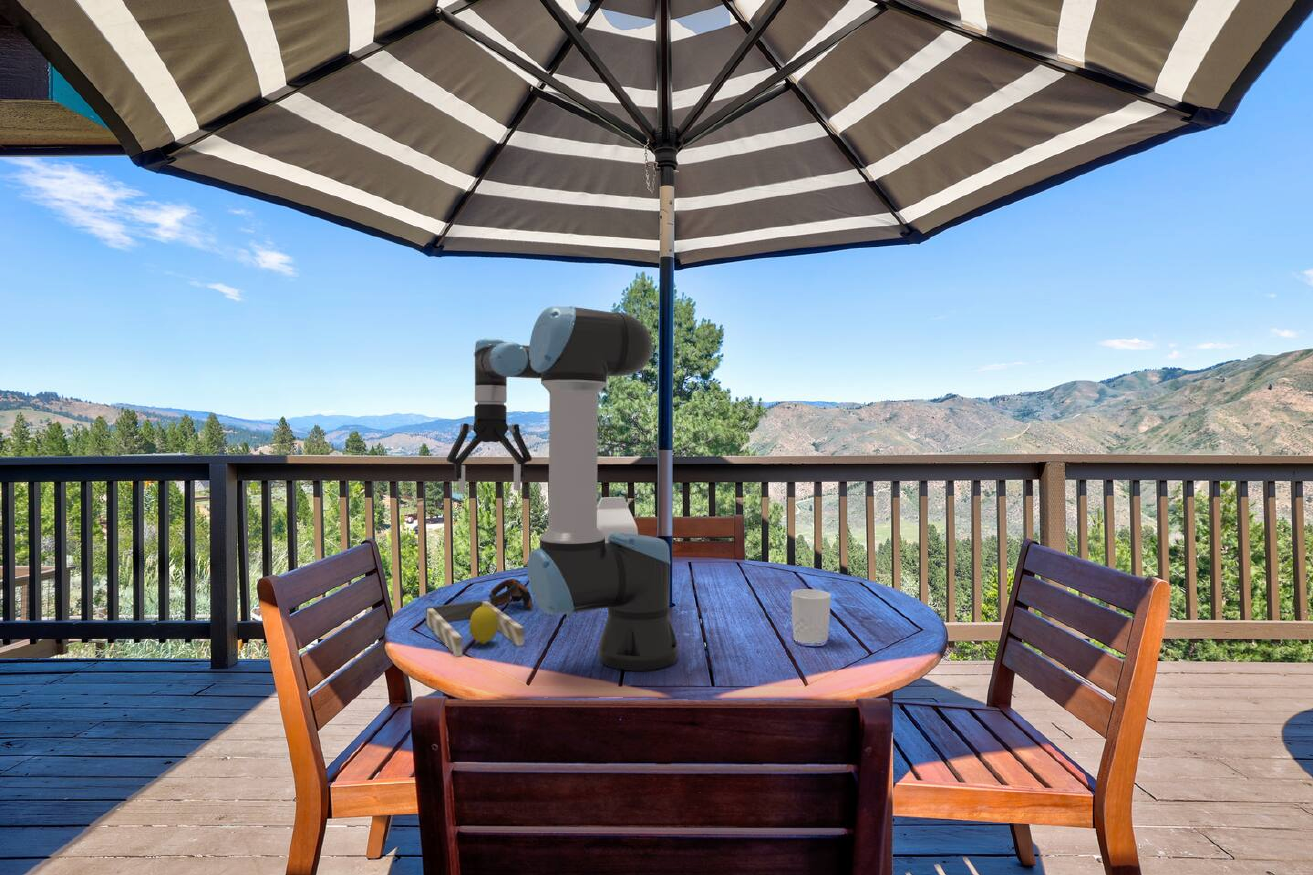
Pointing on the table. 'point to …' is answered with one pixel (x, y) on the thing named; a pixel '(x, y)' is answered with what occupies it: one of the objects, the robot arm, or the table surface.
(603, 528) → the milk
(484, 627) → the lemon
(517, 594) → the brown open ring
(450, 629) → the channel
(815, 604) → the white cup
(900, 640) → the table surface
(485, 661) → the table surface
